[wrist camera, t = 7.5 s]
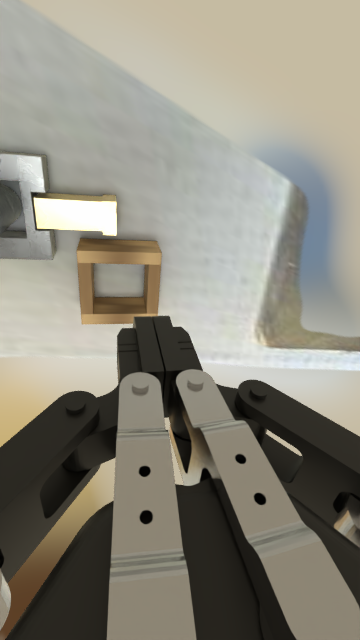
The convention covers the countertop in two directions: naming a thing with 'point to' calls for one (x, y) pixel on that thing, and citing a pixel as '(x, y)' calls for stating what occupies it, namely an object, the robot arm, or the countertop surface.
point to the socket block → (27, 207)
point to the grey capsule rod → (8, 207)
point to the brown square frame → (117, 253)
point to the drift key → (76, 212)
